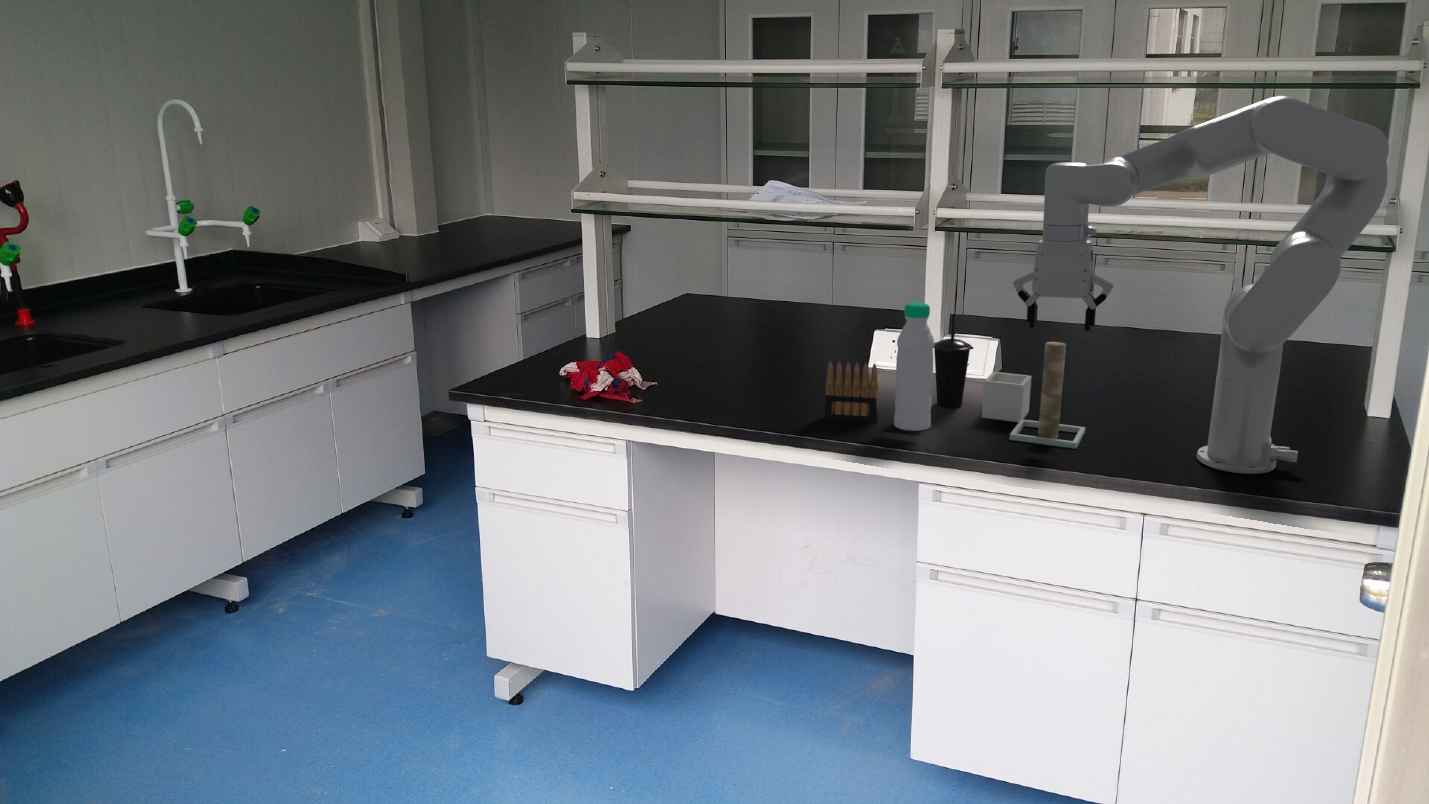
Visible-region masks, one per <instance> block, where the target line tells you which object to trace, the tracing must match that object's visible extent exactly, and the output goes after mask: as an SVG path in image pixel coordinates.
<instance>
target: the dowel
mask: <svg viewBox="0 0 1429 804" xmlns="http://www.w3.org/2000/svg"><path fill="white" fill-rule="evenodd" d="M1066 350H1067V344H1066V343H1065V342H1060V341H1047V342H1045V346H1044V355H1043V356H1044V358H1043V368H1042V370H1043V371H1042V382H1041V383H1042V384H1041V395H1040V396H1041V397H1040V405H1039V406H1040V407H1039V408H1040V410H1039V419H1038V420H1039V428H1038V435H1037V437H1044V438H1052V439H1058V438H1059V433H1060V431H1059V424H1060V419H1061V417H1060V416H1061V409H1062V408H1061V407H1062V397H1063V396H1062V395H1063V394H1062V393H1063V387H1064V386H1063V383H1064V376H1065V375H1064V373H1065V362H1066V361H1065V360H1066Z"/></svg>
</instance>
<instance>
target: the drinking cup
mask: <svg viewBox="0 0 1429 804" xmlns="http://www.w3.org/2000/svg"><path fill="white" fill-rule="evenodd" d="M950 328H951V329H950V330H951V331H950V338H945V339H942V340H938V341H936V342H934V348H933V352H934V368H935V391H936V405H937V406H938V407H940V408H944V409H957V408H960V407H962V405H963V398H964V392H965V387H966V385H965V384H966V378H967V370H968V364H969V357H970V352H971V350H972V344H971V343H968V342H966V341H964V340H962V339H960V338H955V331H956V330H955V329H956V314H954V313H952V314H951V327H950Z"/></svg>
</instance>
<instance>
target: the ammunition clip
mask: <svg viewBox="0 0 1429 804" xmlns="http://www.w3.org/2000/svg"><path fill="white" fill-rule="evenodd" d="M827 365H828V366H827V370H826V371H827V373H826V381H825V402H824V415H823V417H824V418H823V419H824V420H829V421H844V422H858V423H859V422H860V423H874V424H876V423H878V421H879V404H878V401H879V399H878V398H879V395H878V394H879V382H878V367H877V365H876V363H873V365H872V368H871V374H870V375H871V376H870V379H869V368H868V363H866V362H865V363H864V366H863V367H862V375H861V373H860V372H861V371H860V366H859V363H858V362H856V363H855V365H854V370H853V376H852V369H851V364H850V362H849V361H847V362H846V366H845V368H844V369H845V371H844V381H843V368H842V363H841V361H838V363H837V365H836V368H835V369H836V370H835V374H836V375H835V379H834V368H833V367H834V366H833V363H832V361H831V360H830V361H829V363H828V364H827ZM860 375H861V376H862V377H861V376H860ZM852 377H853V378H852ZM869 380H870V381H869Z"/></svg>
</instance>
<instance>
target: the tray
mask: <svg viewBox="0 0 1429 804" xmlns="http://www.w3.org/2000/svg"><path fill="white" fill-rule="evenodd" d="M1024 427H1029V428H1037V429H1039V421H1038V420H1032V419H1021V420H1020V421H1019V422H1017V423H1016V425H1015V427H1014V428H1013V430H1011V432H1010V433H1009V441H1015V442H1016V441H1018V442H1024V443H1025V442H1026V443H1032V444H1040V445H1046V446H1055V447H1061V448H1068V449H1077V448H1078V446H1079V445H1080V443H1081V441H1082V440H1083V437H1084V435H1085V433H1086V427H1085V426H1077V425H1069V424H1062V423H1059V432H1065V433H1066V432H1068V433H1076V435H1075V437H1074V439H1073V440H1065V439H1060V438H1059V439H1058V438H1057V439H1052V438H1044V437H1039V436H1038V435H1037V436H1035V435H1028V434H1021V433H1020V432H1021V431H1022V429H1023V428H1024Z"/></svg>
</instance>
